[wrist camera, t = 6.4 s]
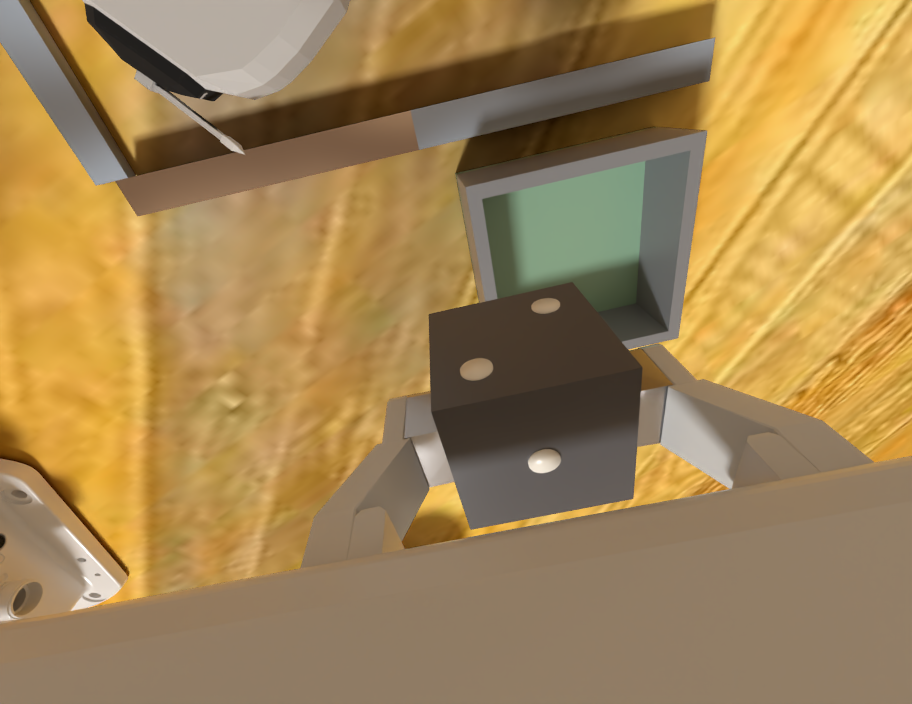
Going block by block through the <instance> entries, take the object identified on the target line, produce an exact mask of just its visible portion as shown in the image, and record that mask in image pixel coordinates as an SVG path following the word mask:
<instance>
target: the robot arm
mask: <svg viewBox="0 0 912 704" xmlns="http://www.w3.org/2000/svg"><path fill="white" fill-rule="evenodd" d="M630 353H631V354H632V355H633V356H634V358H635V359H636V360H637V361H638V362H639V364H640V365H641V366H642V367H643V371H642V384H641V398H640V412H639V426H638V440H637V447H639V446H645V445H651V444H657V443H661V444H660V445H662V446H664V447H665V448H667V449H668V450H670V451H671V452H673V453H675V454H676V455H678V456H679V457H681V458H682V459H684V460H686V461H687V462H689V463H690V464H692V465H693V466H695V467H697V468H698V469H700V470H701V471H703V472H704V473H706V474H708V475H709V476H711V477H712V478H714V479H715V480H717V481H719V482H720V483H722V484H723V485H725V486H726V487H728V488H730V489H729V490H723V491H718V492H712V493H707V494H701V495H696V496H691V497H685V498H680V499H674V500H669V501H664V502H658V503H653V504H647V505H642V506H636V507H631V508H626V509H620V510H615V511H609V512H604V513H598V514H593V515H588V516H582V517H577V518H571V519H566V520H560V521H555V522H550V523H544V524H539V525H533V526H528V527H522V528H517V529H512V530H506V531H501V532H495V533H490V534H484V535H479V536H474V537H468V538H463V539H457V540H452V541H446V542H441V543H436V544H430V545H425V546H419V547H414V548H409V549H405V548H404V546H403V544H402V540H403V538H404V536H405V534H406V533H407V531H408V529H409V527H410V525H411V523H412V521H413V519H414V518H415V516H416V514H417V512H418V510H419V508H420V506H421V504H422V502H423V501H424V499H425V497H426V495H427V493H428V491H429V487H433V486H438V485H442V484H447V483H451V482H454V479H453V476H452V473H451V470H450V467H449V464H448V461H447V458H446V455H445V452H444V449H443V446H442V443H441V440H440V437H439V434H438V431H437V428H436V425H435V422H434V419H433V416H432V413H431V391H428V392H423V393H417V394H412V395H408V396H402V397H397V398H392V399H389V401H388V402H387V409H386V417H385V425H384V433H383V441H382V444H377V445H376V446H375V447H374V448H373V450H372V451H371V452H370V453H369V454H368V455H367V457H366V458H365V459H364V460H363V461H362V462H361V463H360V465H359V466H358V467H357V468H356V469H355V470H354V472H353V473H352V474H351V475H350V476H349V477H348V479H347V480H346V481H345V482H344V483H343V484H342V485H341V487H340V488H339V489H338V490H337V491H336V492H335V494H334V495H333V496H332V497H331V498H330V499H329V501H328V502H327V503H326V504H325V505H324V506H323V507H322V509H321V510H320V511H319V512H318V513H317V514H316V516H315V517H314V520H313V523H312V527H311V531H310V535H309V538H308V542H307V546H306V550H305V553H304V557H303V561H302V564H301V568H300V569H295V570H289V571H284V572H278V573H273V574H268V575H262V576H257V577H251V578H246V579H241V580H235V581H230V582H224V583H219V584H214V585H208V586H203V587H197V588H192V589H186V590H181V591H176V592H170V593H165V594H159V595H154V596H149V597H143V598H138V599H132V600H127V601H122V602H116V603H111V604H105V605H100V606H95V607H91V606H94V605H96V604H99V603H101V602H103V601H105V600H107V599H109V598H111V597H112V596H114V595H115V594H116V593H117V592H118V591H119V590H120V589H121V588H122V587H123V585H124V584H125V582H126V581H127V580H128V576H127V575H126V573H125V572H124V571H123V570H122V568H121V567H120V566H119V565H118V564H117V563H116V561H115V560H114V559H113V558H112V557H111V556H110V554H109V553H108V552H107V551H106V550H105V549H104V548H103V546H102V545H101V544H100V543H99V542H98V541H97V539H96V538H95V537H94V536H93V535H92V534H91V532H90V531H89V530H88V529H87V528H86V527H85V526H84V524H83V523H82V522H81V521H80V520H79V519H78V517H77V516H76V515H75V514H74V513H73V512H72V511H71V509H70V508H69V507H68V506H67V505H66V504H65V502H64V501H63V500H62V499H61V498H60V497H59V495H58V494H57V493H56V492H55V491H54V490H53V489H52V487H51V486H50V485H49V484H48V483H47V482H46V480H45V479H44V478H43V477H42V476H41V475H40V474H39V473H38V472H37V471H36V470H35V469H34V468H32V467H30V466H28V465H26V464H23V463H19V462H16V461H11V460H6V459H0V704H912V456H908V457H903V458H897V459H892V460H886V461H881V462H875V463H874V462H873V461H872V460H871V459H869V458H868V457H867V456H866V455H864V454H863V453H862V452H861V451H859V450H858V449H857V448H856V447H854V446H853V445H852V444H851V443H849V442H848V441H847V440H846V439H844V438H843V437H842V436H841V435H839V434H838V433H837V432H836V431H835V430H833V429H832V428H831V427H830V426H828V425H827V424H826V423H825V422H823V421H822V420H819V419H816V418H813V417H810V416H808V415H805V414H802V413H799V412H796V411H793V410H790V409H787V408H785V407H782V406H779V405H776V404H773V403H770V402H767V401H765V400H762V399H759V398H756V397H753V396H750V395H747V394H744V393H742V392H739V391H736V390H733V389H730V388H727V387H724V386H722V385H719V384H716V383H713V382H710V381H707V380H704V379H703V380H697V379H696V378H695V377H694V376H693V375H692V374H691V373H690V372H689V371H688V370H687V369H686V368H685V367H684V366H683V365H682V364H681V363H680V362H679V361H678V360H677V359H676V358H675V357H674V356H673V355H672V354H671V353H670V352H669V351H668V350H667V349H666V348H665V347H664V346H663V345H660V344H654V345H650V346H645V347H641V348H638V349H635V350H630ZM88 607H89V608H88Z"/></svg>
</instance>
